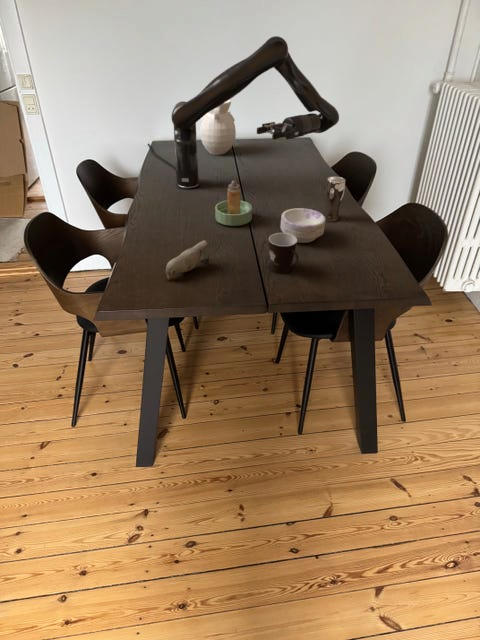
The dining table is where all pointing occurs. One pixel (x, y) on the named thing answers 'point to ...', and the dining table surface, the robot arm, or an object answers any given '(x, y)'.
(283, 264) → the coffee mug
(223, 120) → the pitcher
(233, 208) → the pepper mill
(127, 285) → the dining table surface
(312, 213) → the paper bowls
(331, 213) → the beer glass
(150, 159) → the dining table surface
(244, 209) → the serving bowl
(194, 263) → the decorative bird
